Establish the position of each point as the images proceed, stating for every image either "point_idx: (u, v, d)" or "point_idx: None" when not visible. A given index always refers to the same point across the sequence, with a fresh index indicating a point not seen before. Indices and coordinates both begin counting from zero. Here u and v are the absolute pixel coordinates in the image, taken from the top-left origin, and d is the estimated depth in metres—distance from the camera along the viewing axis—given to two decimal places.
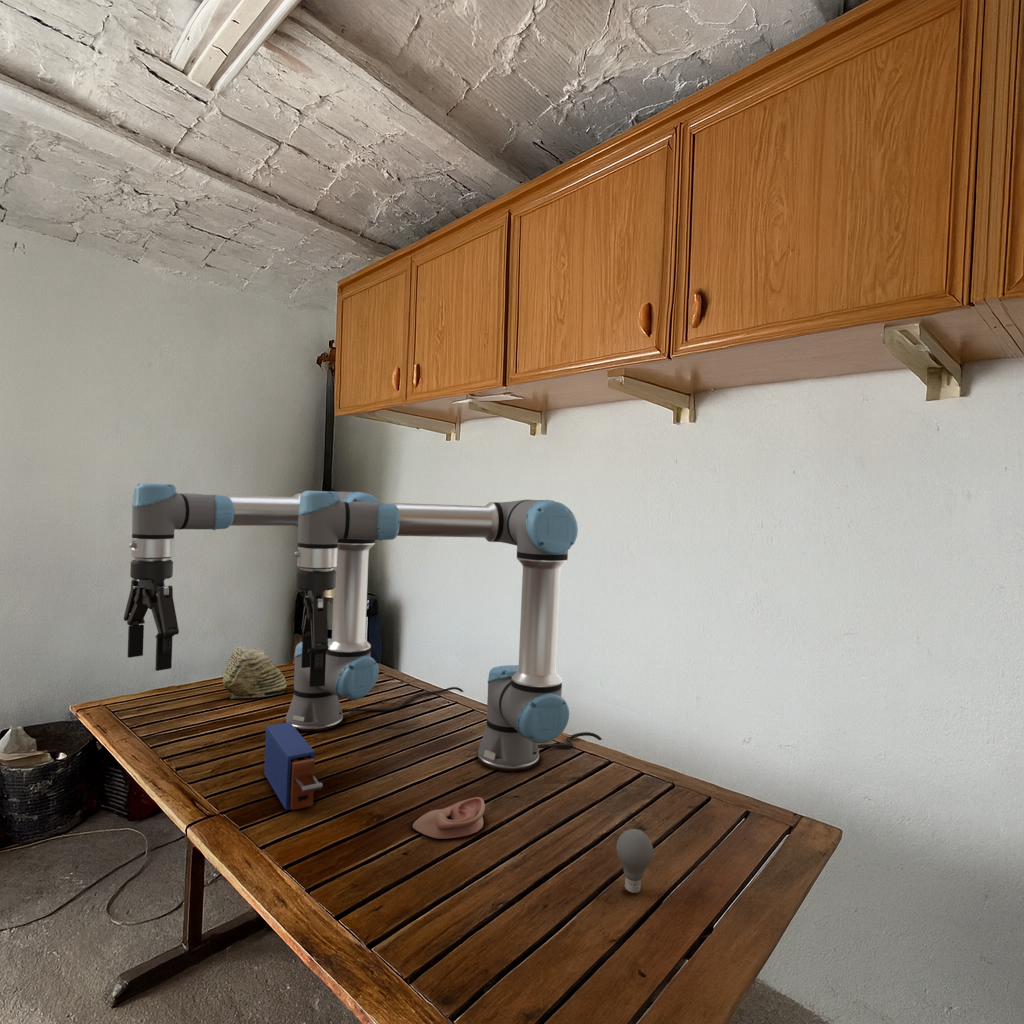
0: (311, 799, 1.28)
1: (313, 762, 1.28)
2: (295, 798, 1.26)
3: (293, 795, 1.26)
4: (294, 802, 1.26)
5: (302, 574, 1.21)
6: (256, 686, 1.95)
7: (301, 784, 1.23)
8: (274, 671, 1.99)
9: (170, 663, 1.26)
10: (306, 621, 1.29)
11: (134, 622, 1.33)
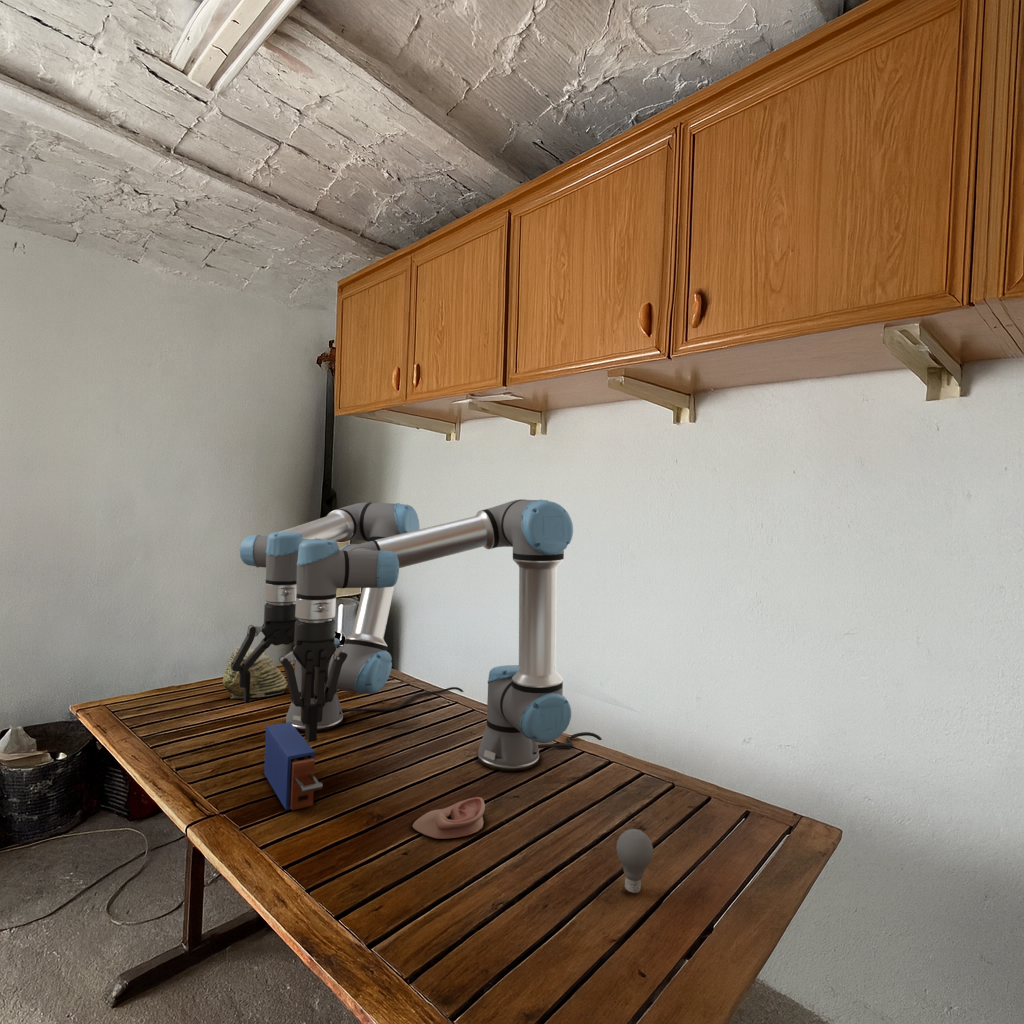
0: (311, 799, 1.28)
1: (313, 762, 1.28)
2: (295, 798, 1.26)
3: (293, 795, 1.26)
4: (294, 802, 1.26)
5: (331, 625, 1.22)
6: (256, 686, 1.95)
7: (301, 784, 1.23)
8: (274, 671, 1.99)
9: None
10: (310, 683, 1.22)
11: None
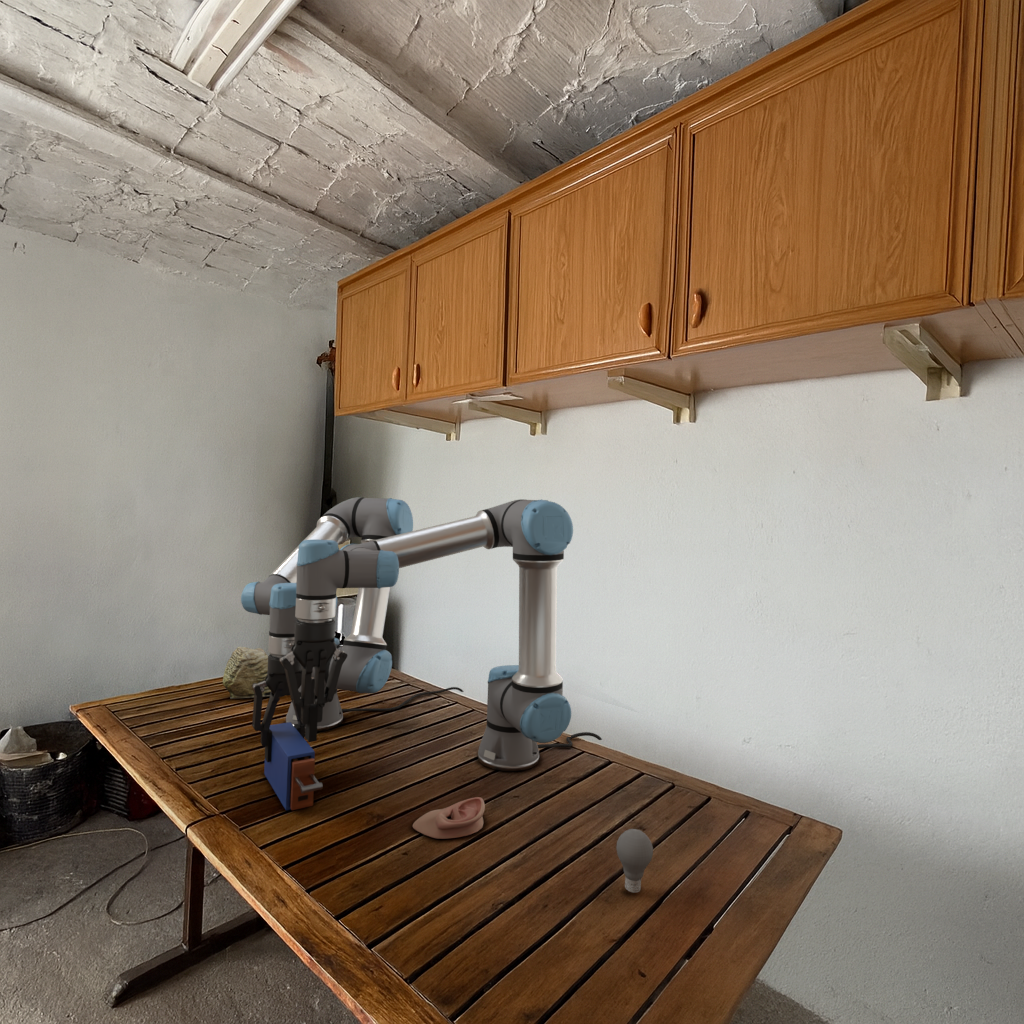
0: (311, 799, 1.28)
1: (313, 762, 1.28)
2: (295, 798, 1.26)
3: (293, 795, 1.26)
4: (294, 802, 1.26)
5: (331, 625, 1.22)
6: None
7: (301, 784, 1.23)
8: None
9: None
10: (310, 683, 1.22)
11: None
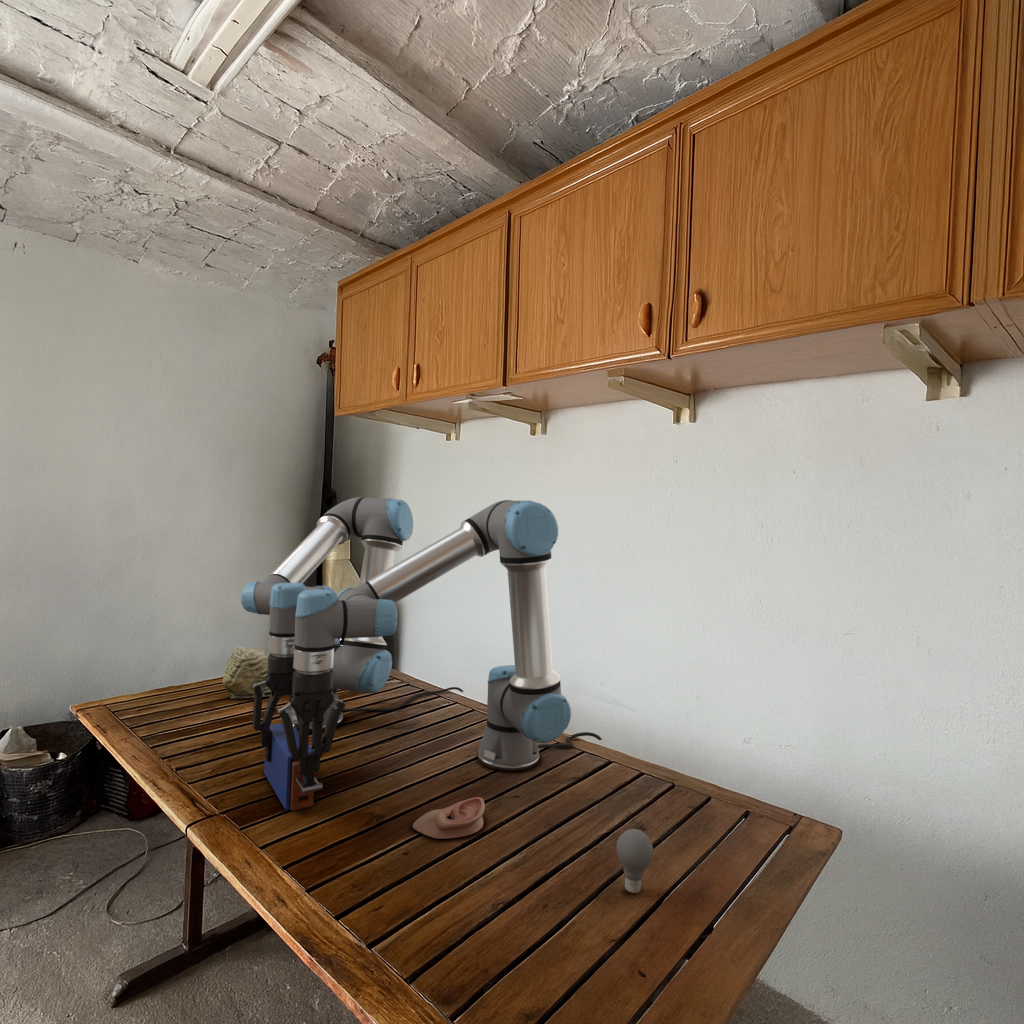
0: (311, 799, 1.28)
1: None
2: (295, 798, 1.26)
3: (293, 795, 1.26)
4: (294, 803, 1.26)
5: (329, 676, 1.22)
6: None
7: (301, 785, 1.23)
8: None
9: None
10: (308, 734, 1.23)
11: None
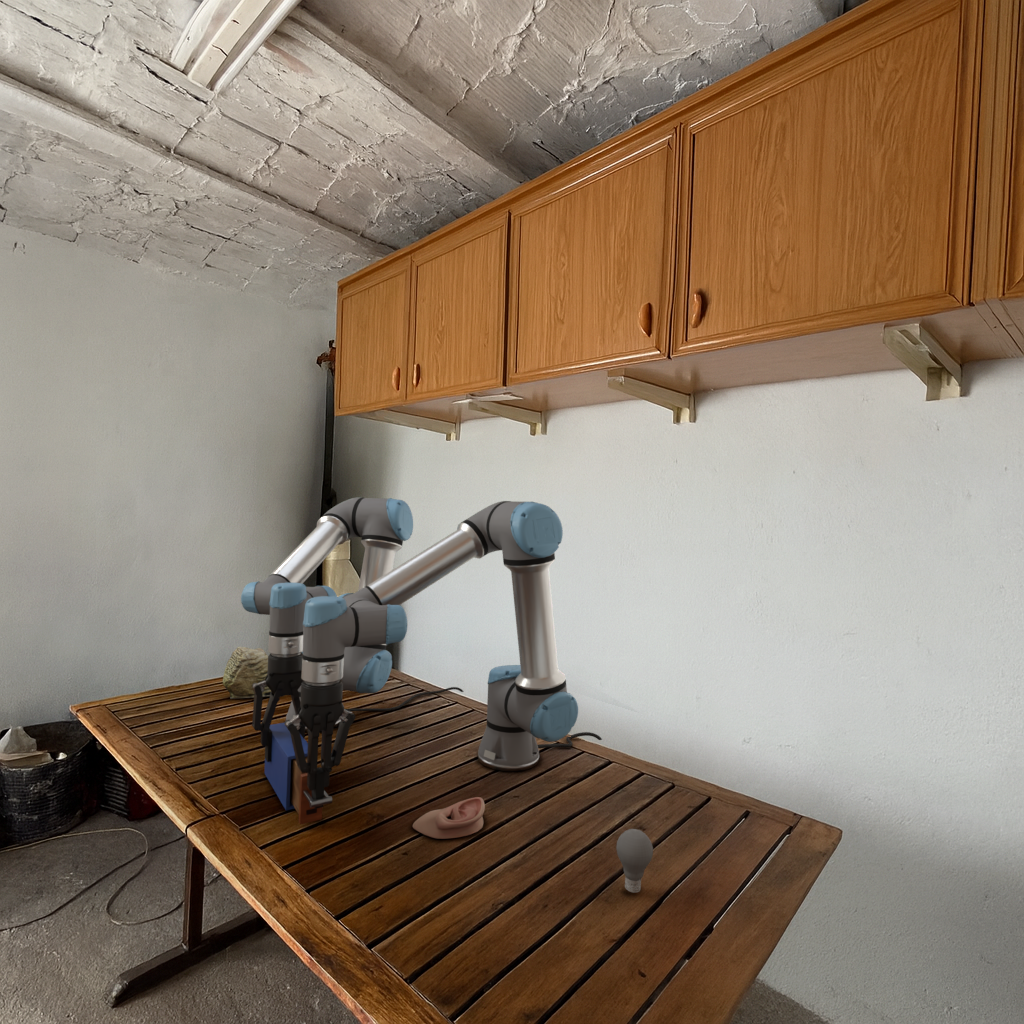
0: (320, 812, 1.23)
1: None
2: (303, 812, 1.21)
3: (301, 809, 1.21)
4: (302, 816, 1.21)
5: (339, 687, 1.17)
6: None
7: (310, 798, 1.18)
8: None
9: None
10: (317, 747, 1.18)
11: None
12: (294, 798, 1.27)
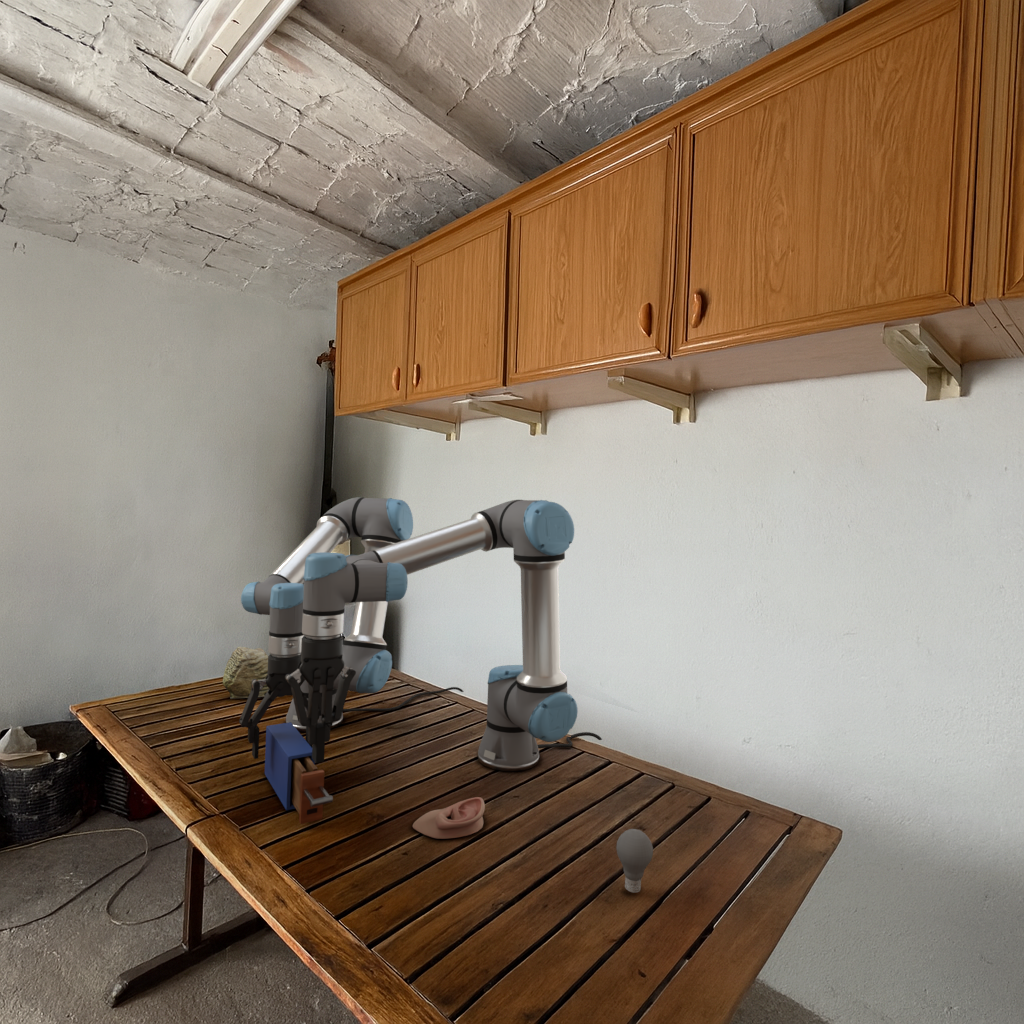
0: (320, 812, 1.23)
1: (323, 774, 1.23)
2: (304, 811, 1.21)
3: (302, 808, 1.21)
4: (302, 816, 1.21)
5: (339, 641, 1.18)
6: None
7: (310, 797, 1.18)
8: None
9: None
10: None
11: None
12: (294, 798, 1.27)
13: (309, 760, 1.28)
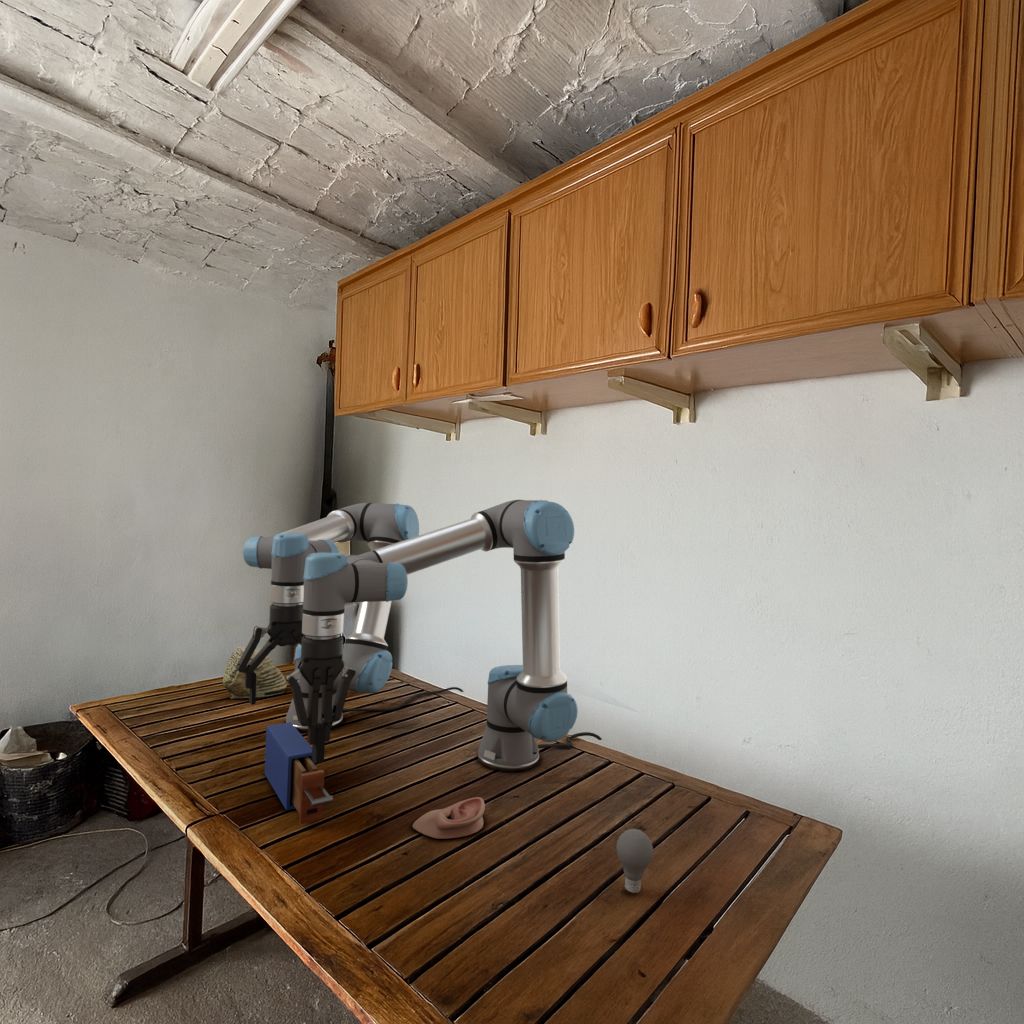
0: (320, 812, 1.23)
1: (323, 774, 1.23)
2: (304, 811, 1.21)
3: (302, 808, 1.21)
4: (302, 816, 1.21)
5: (339, 641, 1.18)
6: (256, 686, 1.95)
7: (310, 797, 1.18)
8: (274, 671, 1.99)
9: None
10: None
11: None
12: (295, 798, 1.27)
13: (309, 760, 1.28)
